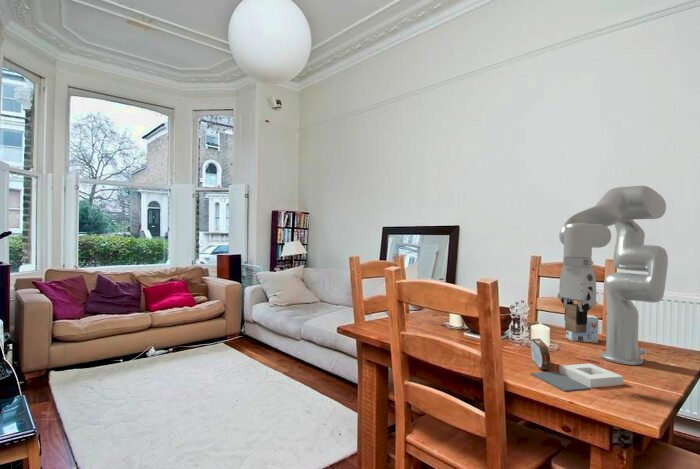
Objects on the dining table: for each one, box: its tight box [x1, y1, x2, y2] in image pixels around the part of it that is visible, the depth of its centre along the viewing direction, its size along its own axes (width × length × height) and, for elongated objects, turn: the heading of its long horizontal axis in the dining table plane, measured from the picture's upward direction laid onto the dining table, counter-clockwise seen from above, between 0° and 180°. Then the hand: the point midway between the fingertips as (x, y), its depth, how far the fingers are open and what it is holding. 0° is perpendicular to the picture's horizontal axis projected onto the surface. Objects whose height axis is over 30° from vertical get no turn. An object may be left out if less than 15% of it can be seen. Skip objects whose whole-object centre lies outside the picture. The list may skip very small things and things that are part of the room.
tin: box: [530, 338, 551, 371], centre depth 134 cm, size 15×3×8 cm, turn 168°
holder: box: [558, 363, 624, 389], centre depth 122 cm, size 12×12×2 cm
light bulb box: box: [565, 313, 599, 344], centre depth 169 cm, size 11×7×11 cm, turn 81°
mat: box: [530, 370, 591, 393], centre depth 119 cm, size 9×14×1 cm, turn 14°
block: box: [564, 303, 586, 333], centre depth 120 cm, size 4×4×8 cm
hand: (575, 322), depth 120 cm, fingers closed on block, 4 cm apart
